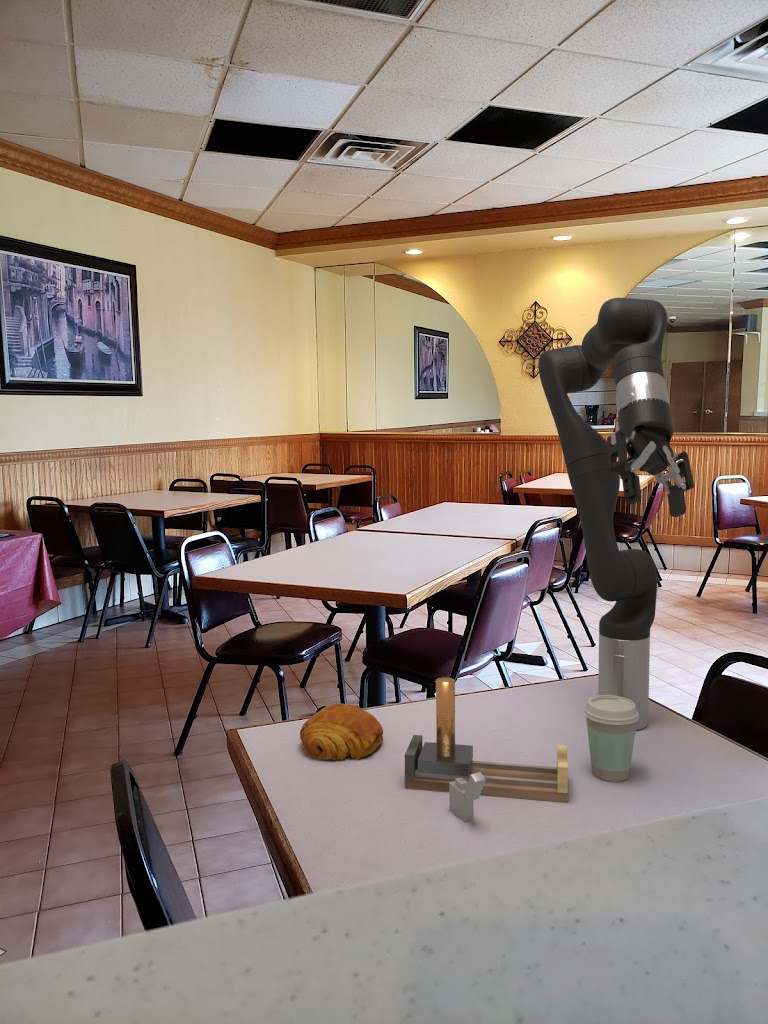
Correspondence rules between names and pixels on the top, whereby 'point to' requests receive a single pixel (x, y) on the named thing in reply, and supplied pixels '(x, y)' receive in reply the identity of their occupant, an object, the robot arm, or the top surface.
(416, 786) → the rail track
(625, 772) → the coffee cup
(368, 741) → the croissant
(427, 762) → the carriage
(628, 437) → the robot arm
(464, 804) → the lighter
